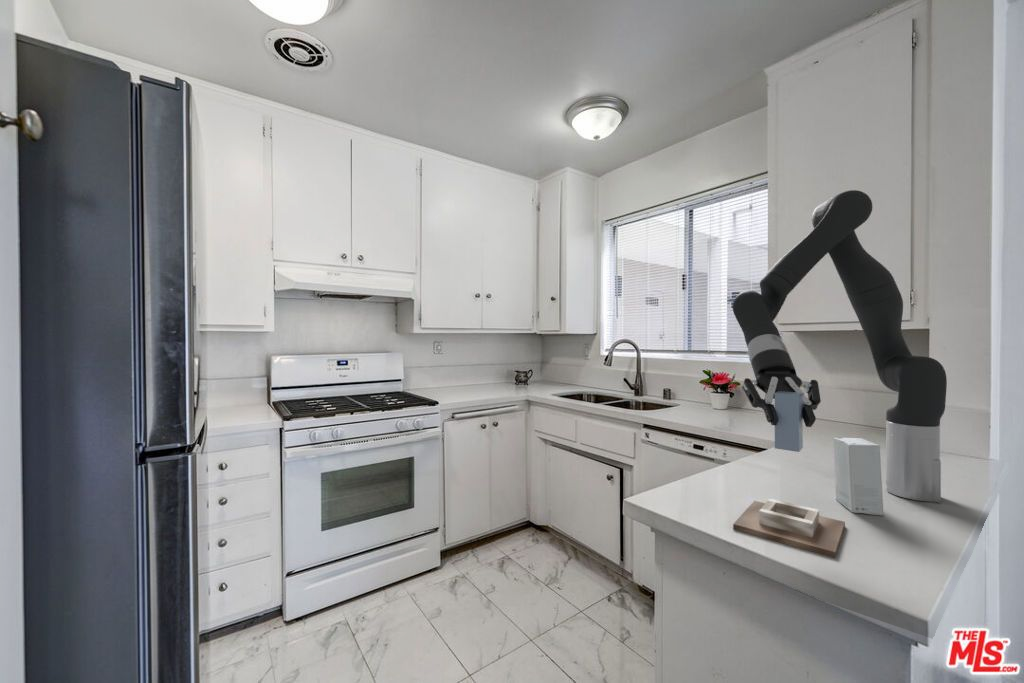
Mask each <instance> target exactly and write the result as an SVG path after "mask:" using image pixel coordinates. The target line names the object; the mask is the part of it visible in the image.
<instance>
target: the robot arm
mask: <svg viewBox="0 0 1024 683" xmlns="http://www.w3.org/2000/svg"><path fill="white" fill-rule="evenodd" d="M872 211H873V202H872V198H870V196H869V195H868V194H867V193H865V192H864V191H861V190H856V189H855V190H854V189H853V190H852V189H851V190H846V191H843V192H841V193H837V194H836V195H834V196H832V197H830V198H829V199H827V200H825V201H823V202H822V203H820V204H818V205H817V206H816V208H815V209H814V210H813V213H812V215H811V216H812V217H811V223H812V227H813V229H812V230H811V231H810V232H809V234H807V235H806V237H804V238H803V239H802V240H801V241H800V242H799V243H797V244H796V245H795V246H793V247H792V248H791V249H790V250H788V252H786V253H785V254H784V255H782V257H781V258H780V259H778V261H777V262H775V264H774V265H773V266H772V267H771V268H770V269H769V270H768V271H767V273H766V274H765V275H764V276H763V277H761V279H760V281H759V288H760V293H759V292H757V291H755V290H745V291H742V292H740V293H739V294H738V293H737V295H736V296H735V298H734V300H733V301H732V306H731V307H732V312H733V314H734V317H735V319H736V321H737V323H738V325H739V327H740V329H741V331H742V333H743V336H744V341H745V344H746V348H747V352H748V358H749V362H750V365H751V368H752V370H753V374H754V378H755V379H753V380H751V379H750V378H747V377H746V378H745V379H744V380H743V383H742V387H741V388H742V390H743V393H745V396H746V398H747V399H748V401H749V403H750V406H751V407H753V408H760V409H762V410H763V411H764V415H765V419H766V421H767V422H768V423H769V424H770V425H771V426H775V425H777V423H778V416H777V413H776V410H775V404H772V403H773V399H774V400H775V393H776V392H778V391H785V392H799V393H803V422H804V425H805V428H811V427H812V426H813V425H814V424H815V421H816V419H817V418H816V415H815V413H814V411H815V410H817V408H818V406H819V405H820V404H821V401H822V400H821V394H820V388H819V382H818V380H816V379H811V380H810V381H807V380H802V379H801V378H800V377H799V375H797V371H796V367H795V365H794V363H793V359H792V358H791V356H790V353H789V351H788V348H787V346H786V344H785V343H784V341H783V339H782V337H781V334H780V332H779V329H778V327H777V325H776V324H775V323H774V320H775V319H776V318H777V316H778V315H779V313H780V311H781V309H782V307H783V306H784V304H785V301H786V298H788V295H789V294H790V293H791V292H792V291H793V290H794V289H796V288H795V287H797V286H798V284H799V283H800V282H802V280H803V279H804V278H805V277H806V275H808V273H809V272H810V271H812V269H813V268H814V267H815V266H816V265H817V264H818V263H819V262H820V261H821V260H822V259H823V258H825V256H826V255H827V254H828V255H829V257H830V258H831V260H832V263H833V265H834V267H835V270H836V271H837V274H838V276H839V278H840V281H841V283H842V285H843V287H844V290H845V293H846V295H847V298H848V301H849V302H850V304H851V307H852V309H853V310H854V312H855V315H856V317H857V320H858V322H859V324H860V327H861V329H862V331H863V333H864V335H865V336H864V337H865V338H866V341H867V343H868V345H869V348H870V351H871V354H872V355H871V356H872V359H873V362H874V366H875V369H876V374H877V376H878V378H879V380H880V381H881V383H882V384H883V385H884V386H885V387H886V388H887V389H888V390H891V391H894V392H896V393H897V394H898V396H897V402H896V404H895V405H894V406H893V407H889V408H887V410H886V412H885V415H886V416H885V423H886V424H885V425H886V428H885V431H886V432H885V433H886V435H885V436H886V438H885V441H886V442H885V443H886V444H885V447H886V448H885V450H886V451H885V454H886V455H885V457H886V458H885V460H886V464H885V467H886V468H885V474H886V480H885V485H886V491H887V492H888V493H890V494H892V495H894V496H898V497H901V498H905V499H908V500H914V501H920V502H932V503H940V504H941V503H942V482H941V481H942V476H941V475H942V472H941V471H942V466H941V465H942V461H941V419H942V417H943V415H944V413H945V410H946V402H947V401H946V400H947V389H948V388H947V386H948V384H947V382H948V381H947V379H948V378H947V373H946V370H945V368H944V366H943V365H942V363H940V362H939V361H938V360H936V358H932V357H929V356H920V355H912V353H911V351H910V349H909V347H908V345H907V342H906V341H905V339H904V336H903V332H902V321H903V320H902V319H903V313H904V300H903V296H902V294H901V292H900V290H899V287H898V284H897V283H896V281H895V277H894V276H893V275H892V273H891V272H890V270H888V269H887V268H886V267H885V266H884V265H883V264H882V263H881V262H879V261H878V260H877V259H875V257H873V256H872V255H871V254H870V253H869V252H868V251H866V250H865V248H864V247H863V245H862V244H861V242H860V241H859V238H858V236H857V233H856V231H855V230H857V229H858V228H859V227H861V225H863V224H864V223H866V222H867V220H869V218H870V216H871V214H872ZM756 388H758V389H759V390H761V391H762V392H764V393H765V394H764V398H762V397H761V396H760V394H759V392H758V390H757V389H756ZM801 388H803V390H804V391H803V390H802V389H801ZM805 394H807V396H806V395H805Z"/></svg>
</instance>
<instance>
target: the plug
mask: <svg viewBox="0 0 1024 683" xmlns="http://www.w3.org/2000/svg"><path fill="white" fill-rule="evenodd" d="M774 407H775V410H776V413H777V416H778V423H777V425H774V449H776V450H777V449H778V450H782V451H784V450H785V451H791V452H795V453H796V452H797V453H800V452H801V451H802V449H803V447H804V446H803V444H804V442H803V441H804V440H803V439H804V438H803V437H804V434H803V430H804V429H803V428H804V426H803V422H804V420H803V393H799V392H785V391H778V392H776V393H775V399H774Z"/></svg>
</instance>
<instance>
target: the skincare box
mask: <svg viewBox="0 0 1024 683" xmlns="http://www.w3.org/2000/svg"><path fill="white" fill-rule="evenodd" d="M833 455H834V456H833V458H834V461H833V462H834V478H835V482H834V484H835V485H834V486H835V500H836V501H837V502H838V503H840V504H841V505H842V506H843V507H845V508H846V509H847V510H849V511H850V512H852V513H856V514H864V515H865V514H866V515H872V516H881V517H882V516H884V513H885V512H884V499H883V479H882V478H883V477H882V463H881V462H882V460H881V445H879V444H878V443H877V444H876V443H874V442H871V441H869V440H867V439H863V438H861V437H860V438H859V437H858V438H857V437H833Z"/></svg>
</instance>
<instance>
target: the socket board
mask: <svg viewBox="0 0 1024 683" xmlns="http://www.w3.org/2000/svg"><path fill="white" fill-rule="evenodd" d="M732 525H733V526H732V529H733V530H736V531H739V532H741V533H745V534H746V533H747V534H750V535H753V536H757V537H760V538H764V539H766V540H767V539H768V540H771V541H774V542H778V543H781V544H785V545H788V546H793V547H795V548H799V549H802V550H806V551H810V552H812V553H817V554H820V555H823V556H827V557H830V558H836V557H837V553H838V550H839V547H840V544H841V540H842V537H843V535H844V531H845V527H846V522H845V521H843V520H839V519H834V518H830V517H826V516H822V515H820V509H817V508H814V507H810V506H809V507H808V506H805V505H800V504H795V503H791V502H786V501H782V500H779V499H773V498H768V499H767V501H766V502H762V501H758V500H754V501H753V502H751V504H750V505H749V506H748V507H747V508H746V509H745V510H744V511H743V512H742V514H740V516H739V517H738V518H737V519H735V521H734V522H733V524H732Z"/></svg>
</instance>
